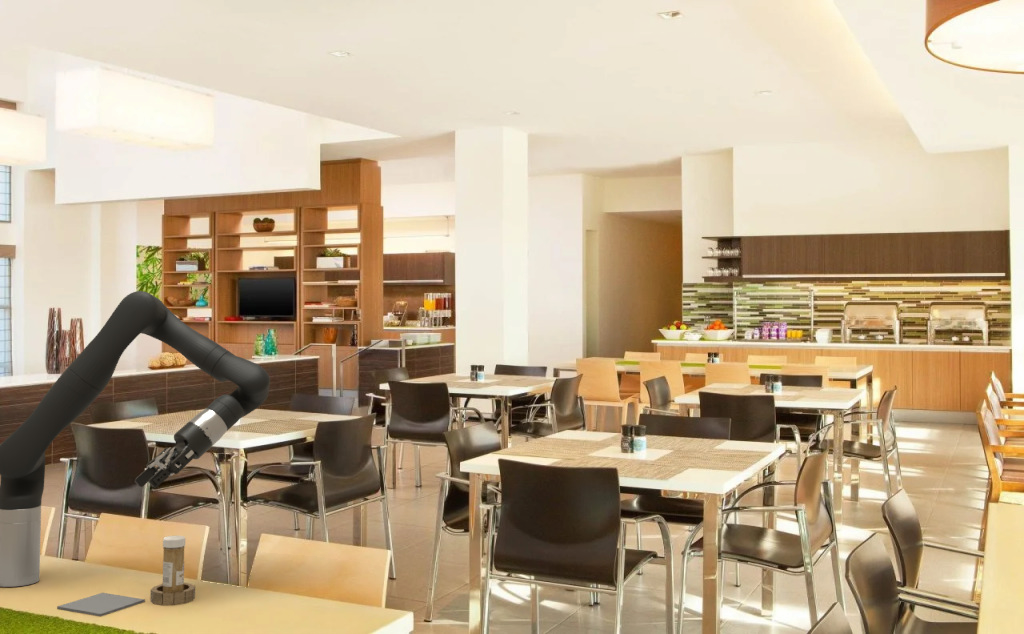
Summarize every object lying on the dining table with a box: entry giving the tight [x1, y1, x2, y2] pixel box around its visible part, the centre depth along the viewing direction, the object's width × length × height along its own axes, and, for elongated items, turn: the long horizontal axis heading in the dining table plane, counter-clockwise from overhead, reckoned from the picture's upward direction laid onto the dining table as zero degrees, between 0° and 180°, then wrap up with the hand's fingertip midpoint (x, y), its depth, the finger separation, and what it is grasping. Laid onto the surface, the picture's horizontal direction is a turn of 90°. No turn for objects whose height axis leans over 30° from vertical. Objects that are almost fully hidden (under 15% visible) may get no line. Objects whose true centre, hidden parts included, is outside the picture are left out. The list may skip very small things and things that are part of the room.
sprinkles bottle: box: [162, 535, 186, 592], centre depth 209 cm, size 5×5×13 cm
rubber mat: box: [56, 592, 146, 617], centre depth 203 cm, size 12×12×1 cm
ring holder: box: [149, 582, 196, 606], centre depth 209 cm, size 9×9×2 cm
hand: (144, 484), depth 206 cm, fingers open, 8 cm apart
